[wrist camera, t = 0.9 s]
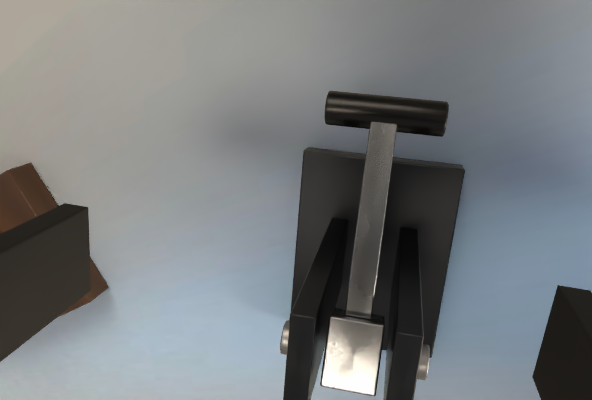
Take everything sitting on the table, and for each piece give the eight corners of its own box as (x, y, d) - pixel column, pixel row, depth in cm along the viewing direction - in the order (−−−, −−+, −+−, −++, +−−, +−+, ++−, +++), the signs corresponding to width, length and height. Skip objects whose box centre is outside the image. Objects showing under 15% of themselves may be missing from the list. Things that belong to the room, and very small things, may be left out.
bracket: (307, 146, 31) (243, 212, 19) (463, 164, 29) (501, 248, 17) (292, 324, 35) (231, 473, 22) (430, 348, 33) (444, 522, 21)
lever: (332, 98, 24) (326, 83, 21) (444, 109, 23) (451, 95, 20) (295, 364, 23) (285, 380, 21) (408, 386, 22) (411, 404, 20)
